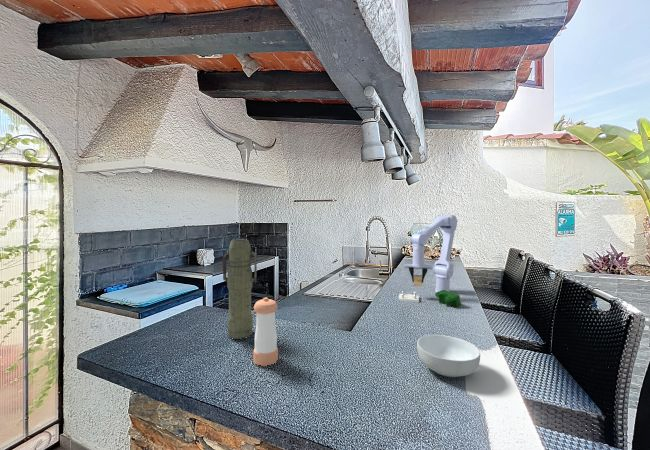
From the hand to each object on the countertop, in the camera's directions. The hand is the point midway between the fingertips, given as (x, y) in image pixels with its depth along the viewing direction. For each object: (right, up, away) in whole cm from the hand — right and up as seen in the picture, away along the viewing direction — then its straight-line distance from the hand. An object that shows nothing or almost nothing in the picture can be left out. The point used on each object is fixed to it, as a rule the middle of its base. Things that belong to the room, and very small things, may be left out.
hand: (417, 282), depth 156 cm
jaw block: (0, -2, 0) cm, 2 cm away
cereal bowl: (-14, -12, -71) cm, 73 cm away
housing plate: (-5, -9, -1) cm, 10 cm away
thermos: (-80, -10, -48) cm, 94 cm away
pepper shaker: (-67, -11, -67) cm, 95 cm away
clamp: (+12, -9, -9) cm, 18 cm away
